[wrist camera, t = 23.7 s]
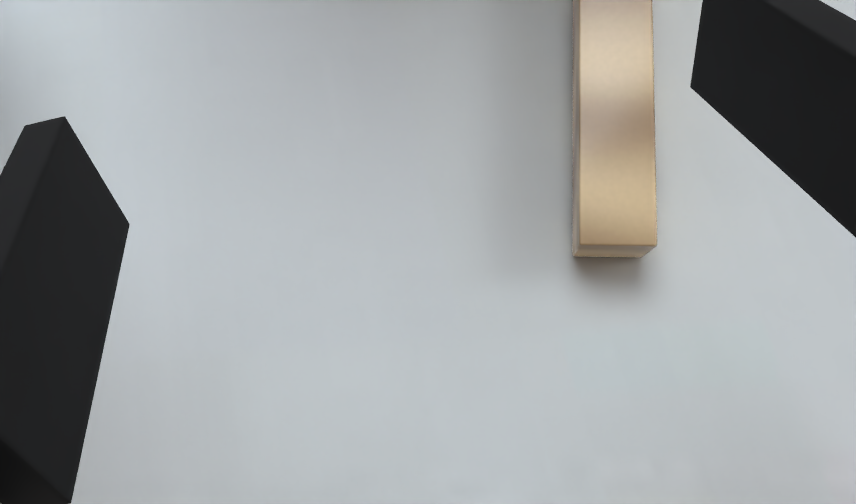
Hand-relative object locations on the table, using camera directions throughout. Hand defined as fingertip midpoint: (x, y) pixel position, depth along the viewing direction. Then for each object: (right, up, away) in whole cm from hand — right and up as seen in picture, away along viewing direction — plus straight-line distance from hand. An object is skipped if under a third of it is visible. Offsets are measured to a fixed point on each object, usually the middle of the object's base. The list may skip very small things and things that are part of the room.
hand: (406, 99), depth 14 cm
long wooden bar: (+9, +7, +17) cm, 20 cm away
